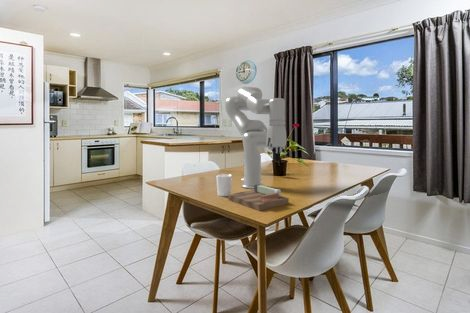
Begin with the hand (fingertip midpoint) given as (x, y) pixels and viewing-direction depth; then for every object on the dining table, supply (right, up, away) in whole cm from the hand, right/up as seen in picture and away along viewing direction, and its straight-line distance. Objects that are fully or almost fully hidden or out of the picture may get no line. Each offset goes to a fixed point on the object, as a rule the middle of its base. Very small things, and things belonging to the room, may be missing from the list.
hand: (276, 161), depth 142 cm
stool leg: (-5, -16, -6) cm, 18 cm away
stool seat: (-10, -19, -9) cm, 23 cm away
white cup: (-26, -18, +4) cm, 32 cm away
